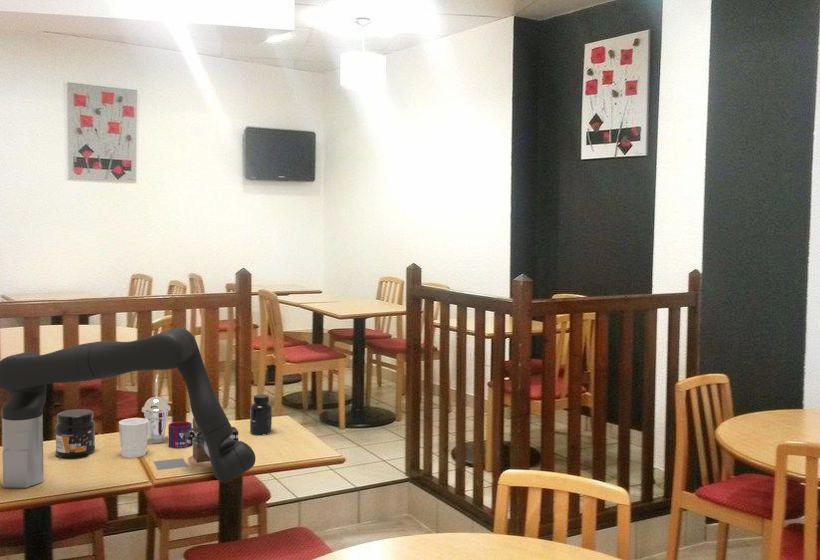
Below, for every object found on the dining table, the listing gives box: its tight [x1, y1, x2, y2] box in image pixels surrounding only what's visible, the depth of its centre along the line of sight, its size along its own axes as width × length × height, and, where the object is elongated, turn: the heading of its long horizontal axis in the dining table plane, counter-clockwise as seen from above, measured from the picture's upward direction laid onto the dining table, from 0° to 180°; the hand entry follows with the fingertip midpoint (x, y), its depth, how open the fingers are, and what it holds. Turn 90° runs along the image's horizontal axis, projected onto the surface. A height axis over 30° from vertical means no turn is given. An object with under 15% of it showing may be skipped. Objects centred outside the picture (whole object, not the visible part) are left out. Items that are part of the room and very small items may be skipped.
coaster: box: [152, 457, 189, 471], centre depth 214 cm, size 8×8×1 cm
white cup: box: [118, 417, 148, 459], centre depth 222 cm, size 8×8×10 cm
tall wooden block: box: [192, 417, 211, 463], centre depth 218 cm, size 6×6×11 cm
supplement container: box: [54, 408, 96, 459], centre depth 223 cm, size 10×10×12 cm
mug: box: [168, 421, 193, 449], centre depth 234 cm, size 7×10×7 cm
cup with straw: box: [141, 373, 171, 444], centre depth 237 cm, size 8×9×20 cm
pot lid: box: [187, 455, 211, 467], centre depth 218 cm, size 10×10×2 cm
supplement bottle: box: [249, 394, 273, 436], centre depth 249 cm, size 7×7×12 cm
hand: (205, 429), depth 218 cm, fingers open, 8 cm apart
